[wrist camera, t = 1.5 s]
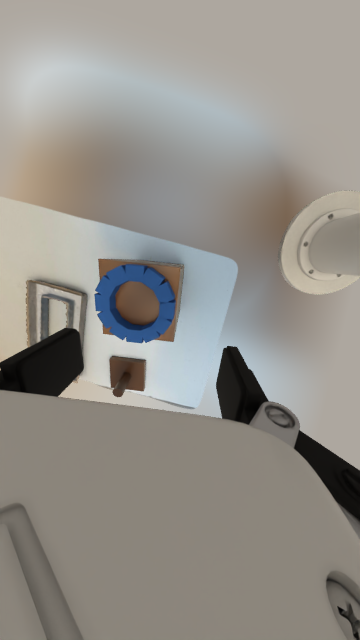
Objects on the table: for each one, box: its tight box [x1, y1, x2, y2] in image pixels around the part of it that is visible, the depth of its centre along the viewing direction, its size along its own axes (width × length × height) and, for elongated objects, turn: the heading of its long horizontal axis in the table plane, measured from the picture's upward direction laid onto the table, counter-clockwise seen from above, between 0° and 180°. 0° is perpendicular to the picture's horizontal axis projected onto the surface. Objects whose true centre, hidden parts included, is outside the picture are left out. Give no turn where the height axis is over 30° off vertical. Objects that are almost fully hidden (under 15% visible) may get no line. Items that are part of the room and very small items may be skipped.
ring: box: [95, 264, 176, 343], centre depth 21 cm, size 10×10×2 cm
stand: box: [98, 259, 184, 342], centre depth 29 cm, size 10×10×16 cm
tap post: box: [109, 356, 146, 397], centre depth 41 cm, size 9×9×8 cm
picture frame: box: [26, 280, 87, 383], centre depth 40 cm, size 13×25×3 cm, turn 166°
